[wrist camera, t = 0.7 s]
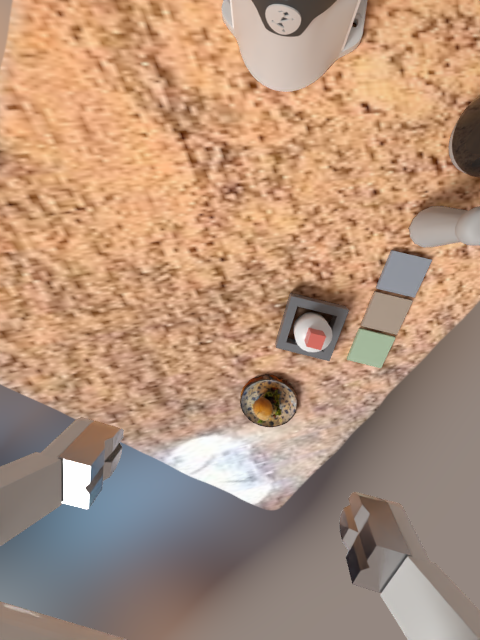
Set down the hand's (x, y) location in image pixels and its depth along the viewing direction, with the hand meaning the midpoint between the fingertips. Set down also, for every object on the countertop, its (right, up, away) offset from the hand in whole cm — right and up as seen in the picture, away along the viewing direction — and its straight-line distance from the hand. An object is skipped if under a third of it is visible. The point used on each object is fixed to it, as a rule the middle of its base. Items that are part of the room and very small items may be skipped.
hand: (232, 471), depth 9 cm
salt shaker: (+29, +20, +32) cm, 47 cm away
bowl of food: (+6, -11, +45) cm, 47 cm away
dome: (+13, +4, +37) cm, 39 cm away
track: (+26, +7, +36) cm, 45 cm away
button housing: (+13, +4, +39) cm, 41 cm away
